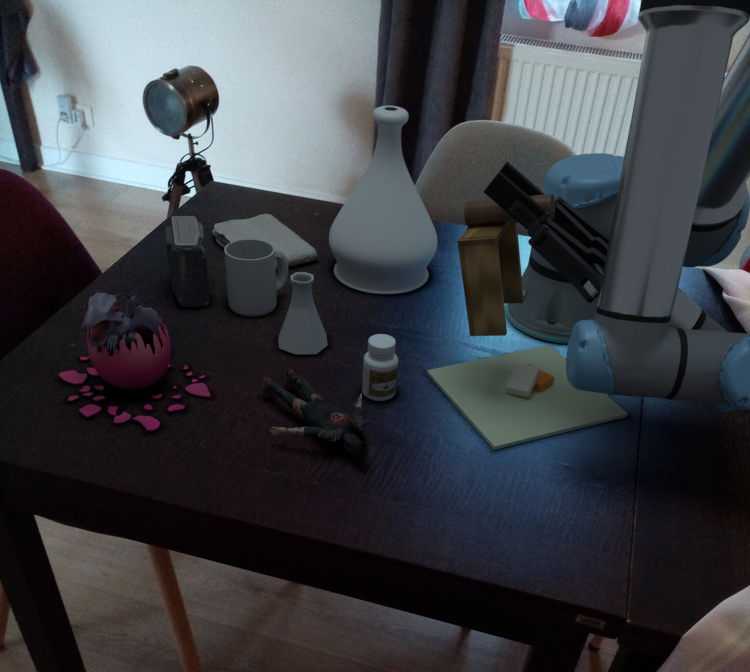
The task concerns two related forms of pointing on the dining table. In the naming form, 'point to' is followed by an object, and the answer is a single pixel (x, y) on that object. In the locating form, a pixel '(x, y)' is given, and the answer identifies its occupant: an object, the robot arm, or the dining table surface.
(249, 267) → the cup
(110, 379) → the hatching egg
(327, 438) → the figurine
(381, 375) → the pill bottle
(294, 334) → the flask
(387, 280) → the vase
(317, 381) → the dining table surface
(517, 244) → the open wooden box
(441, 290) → the dining table surface
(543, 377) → the block
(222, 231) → the washcloth
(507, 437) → the placemat
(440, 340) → the dining table surface
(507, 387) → the block
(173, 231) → the camera
